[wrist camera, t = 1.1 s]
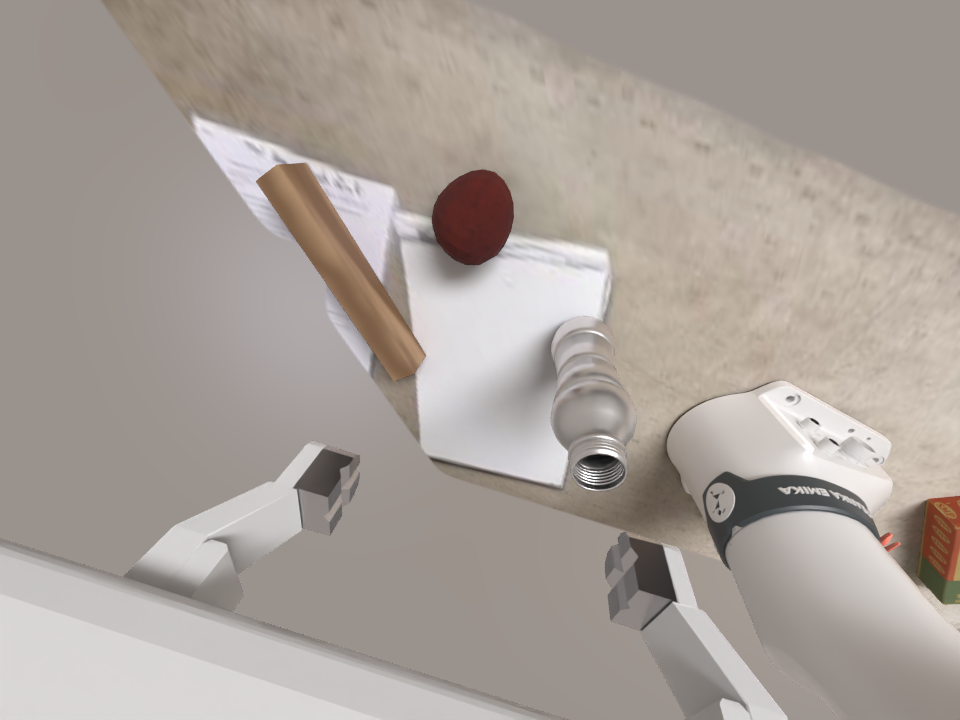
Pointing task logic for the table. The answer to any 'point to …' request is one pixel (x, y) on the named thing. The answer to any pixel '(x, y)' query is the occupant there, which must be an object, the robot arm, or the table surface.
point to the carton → (941, 549)
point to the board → (342, 265)
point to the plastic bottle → (591, 404)
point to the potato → (473, 217)
